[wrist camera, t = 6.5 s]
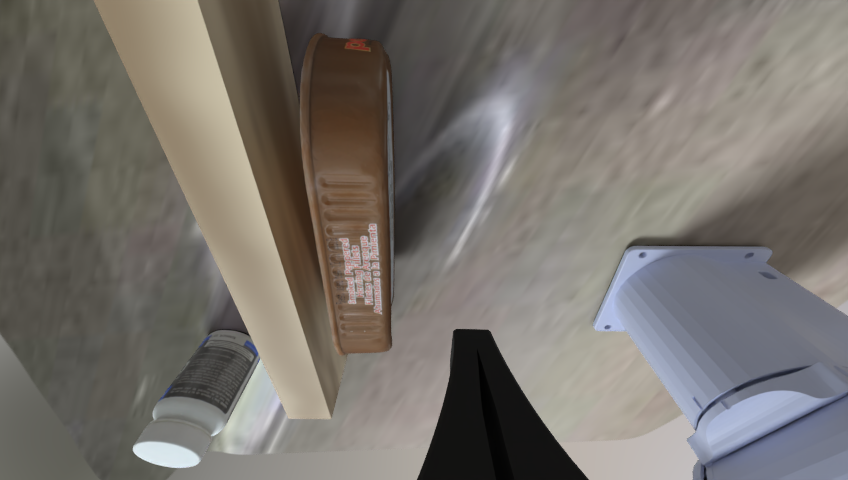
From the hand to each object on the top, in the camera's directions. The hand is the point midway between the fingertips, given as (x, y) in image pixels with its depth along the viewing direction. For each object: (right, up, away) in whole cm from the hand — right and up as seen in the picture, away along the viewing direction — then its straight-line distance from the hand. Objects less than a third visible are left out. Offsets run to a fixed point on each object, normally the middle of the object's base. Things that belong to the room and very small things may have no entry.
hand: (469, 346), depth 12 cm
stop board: (-10, +5, +8) cm, 14 cm away
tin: (-5, +8, +7) cm, 11 cm away
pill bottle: (-18, -5, +15) cm, 24 cm away
